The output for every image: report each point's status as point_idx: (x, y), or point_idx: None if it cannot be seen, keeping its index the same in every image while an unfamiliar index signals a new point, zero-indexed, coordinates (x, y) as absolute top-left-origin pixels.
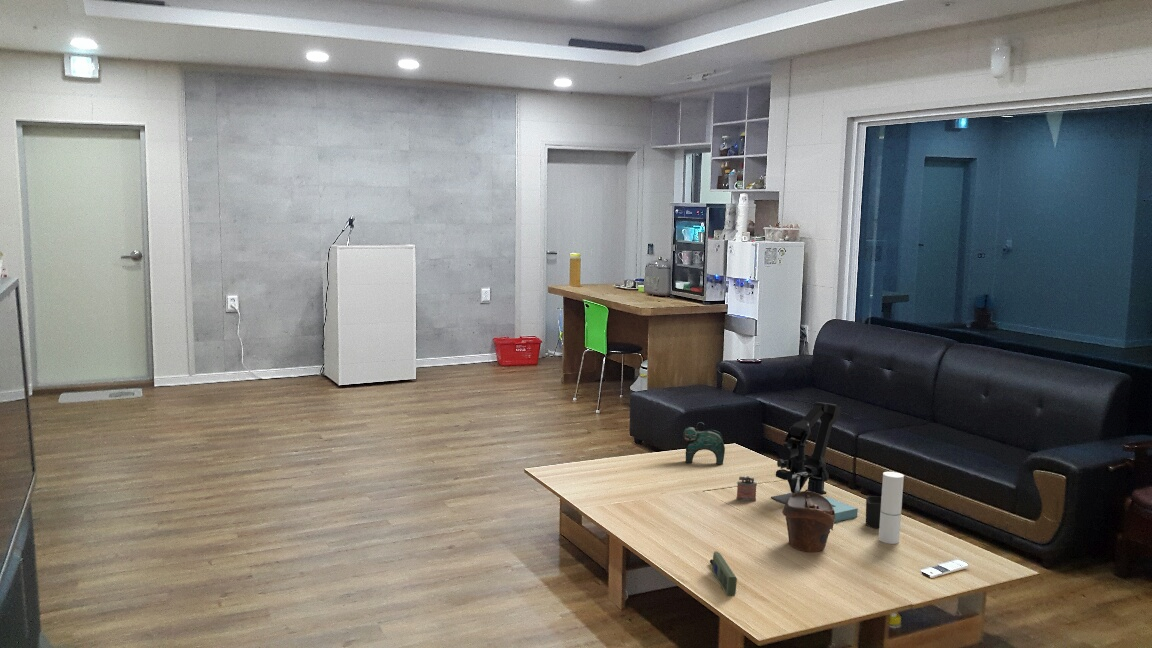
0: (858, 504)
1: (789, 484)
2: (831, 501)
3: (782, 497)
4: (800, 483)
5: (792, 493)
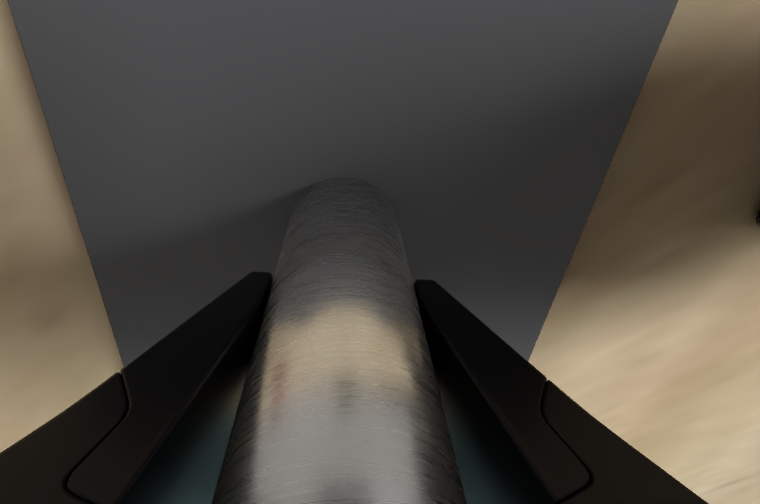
0: (695, 493)
1: (106, 399)
2: None
3: (202, 55)
4: None
5: (276, 267)
